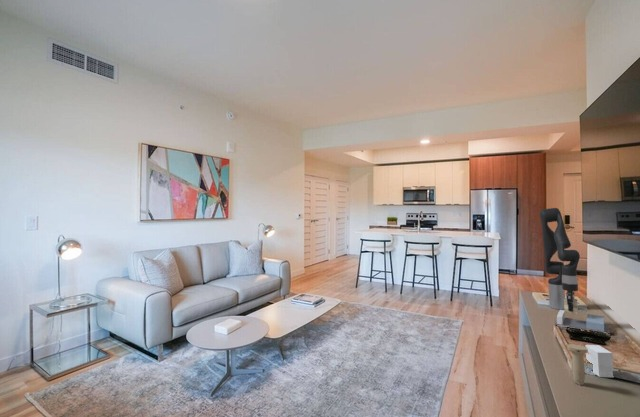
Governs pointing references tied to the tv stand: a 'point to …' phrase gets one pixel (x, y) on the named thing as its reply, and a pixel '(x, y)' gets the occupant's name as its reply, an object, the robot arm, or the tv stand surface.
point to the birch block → (575, 306)
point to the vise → (573, 322)
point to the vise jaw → (595, 322)
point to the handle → (578, 362)
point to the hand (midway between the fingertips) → (571, 310)
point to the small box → (600, 360)
